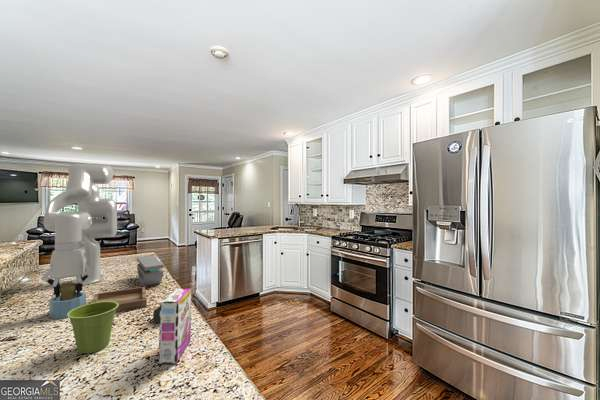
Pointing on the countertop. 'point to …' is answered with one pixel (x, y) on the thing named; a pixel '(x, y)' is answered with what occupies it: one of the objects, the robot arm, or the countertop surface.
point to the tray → (124, 298)
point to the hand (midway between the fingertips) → (68, 294)
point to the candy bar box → (174, 325)
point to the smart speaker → (156, 315)
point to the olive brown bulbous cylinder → (68, 291)
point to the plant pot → (92, 325)
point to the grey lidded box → (149, 270)
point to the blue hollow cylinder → (65, 305)
